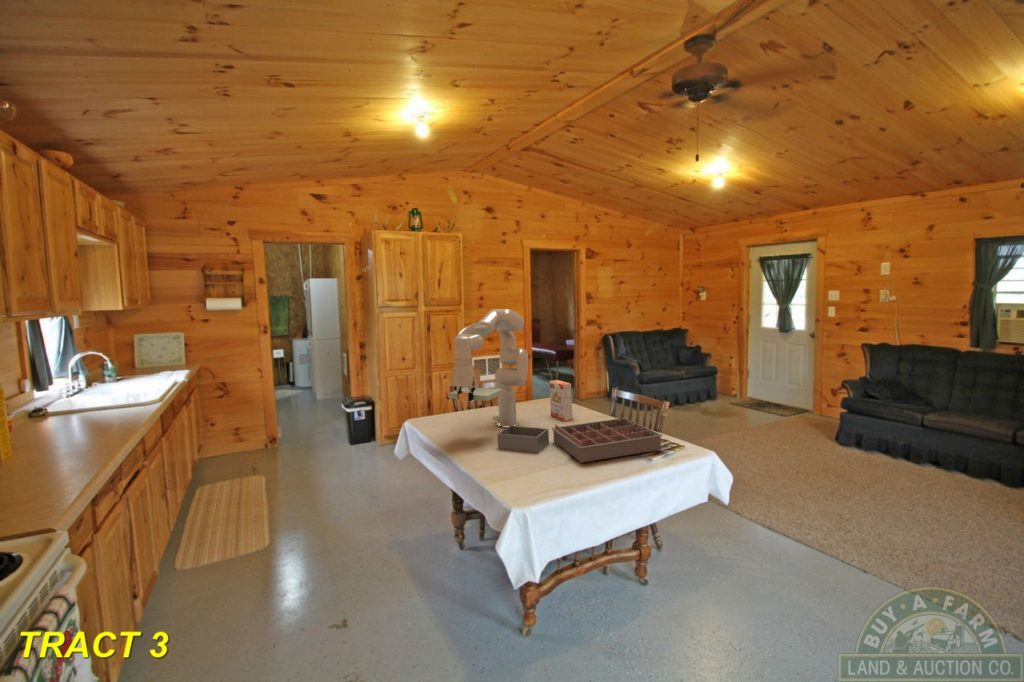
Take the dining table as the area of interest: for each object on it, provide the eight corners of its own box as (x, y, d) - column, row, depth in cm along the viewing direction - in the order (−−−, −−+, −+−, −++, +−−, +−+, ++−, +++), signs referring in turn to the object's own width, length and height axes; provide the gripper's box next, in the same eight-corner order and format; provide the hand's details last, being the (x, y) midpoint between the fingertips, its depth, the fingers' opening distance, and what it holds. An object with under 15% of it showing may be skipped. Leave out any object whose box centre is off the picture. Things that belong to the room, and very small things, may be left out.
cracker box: (550, 416, 286) (548, 380, 284) (559, 414, 289) (557, 379, 287) (563, 421, 274) (562, 384, 272) (573, 420, 277) (571, 383, 274)
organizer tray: (663, 452, 219) (663, 430, 218) (580, 466, 207) (579, 443, 206) (625, 433, 250) (625, 413, 248) (551, 444, 238) (550, 423, 237)
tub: (498, 450, 232) (497, 433, 231) (510, 441, 244) (510, 425, 243) (538, 454, 223) (537, 437, 222) (549, 445, 236) (548, 428, 235)
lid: (443, 400, 239) (443, 392, 238) (464, 391, 257) (464, 384, 256) (483, 402, 230) (483, 395, 229) (502, 393, 247) (502, 386, 247)
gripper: (443, 363, 234) (446, 401, 236) (475, 364, 227) (477, 403, 229) (452, 360, 241) (454, 397, 243) (483, 361, 234) (485, 399, 236)
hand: (465, 399), depth 236 cm, fingers closed on lid, 4 cm apart
